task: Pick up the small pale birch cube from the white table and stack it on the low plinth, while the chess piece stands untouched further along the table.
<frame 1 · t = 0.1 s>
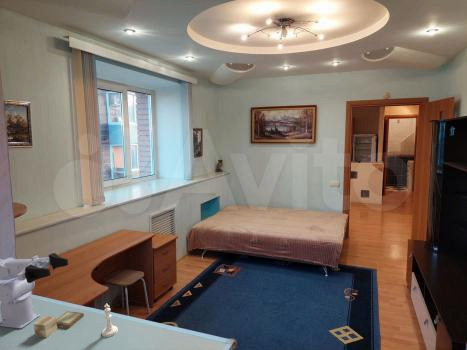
hand: (58, 267, 105), 22 cm above the table, tool horizontal, fingers open, 7 cm apart
birch cube: (46, 333, 106), on the table
plinth: (68, 320, 112), on the table
chess piece: (110, 332, 104), on the table
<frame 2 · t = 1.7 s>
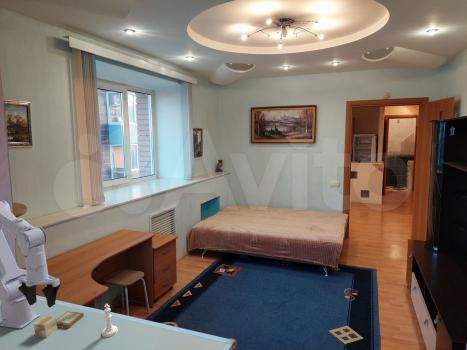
hand: (42, 304, 104), 10 cm above the table, tool pointing down, fingers open, 7 cm apart
nothing on the table moved.
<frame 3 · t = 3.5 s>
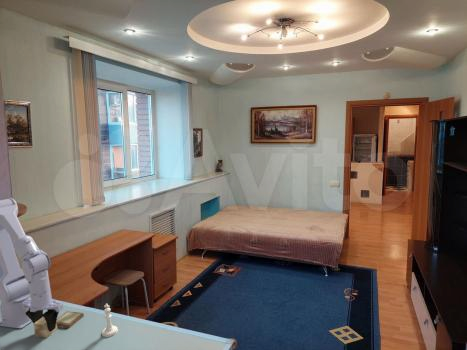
hand: (46, 328, 106), 1 cm above the table, tool pointing down, fingers closed on birch cube, 4 cm apart
birch cube: (46, 332, 106), on the table, touching gripper
everything else where it was.
when the fingers open (4 cm above the table, at t = 6.8 s): birch cube stays where it is, resting on plinth.
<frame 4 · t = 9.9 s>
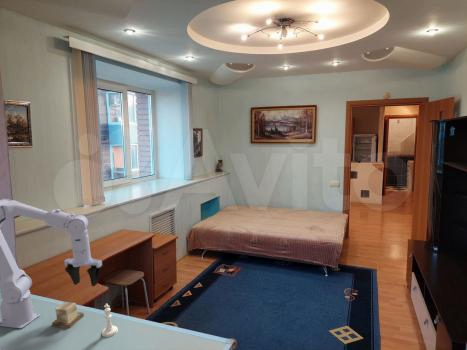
hand: (85, 284, 116), 10 cm above the table, tool pointing down, fingers open, 7 cm apart
birch cube: (67, 317, 111), point 1 cm above the table, touching plinth
everything else where it was.
at the end: birch cube 0.2 cm off-centre on the plinth, point 1.3 cm above the plinth's base; birch cube tilted 0°; the gripper is holding nothing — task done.
